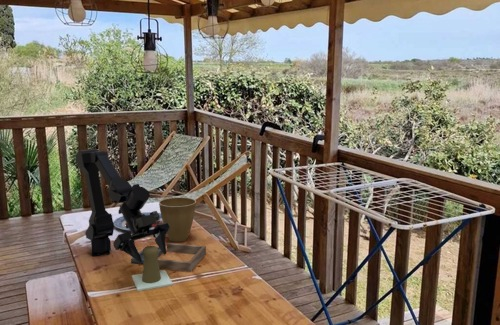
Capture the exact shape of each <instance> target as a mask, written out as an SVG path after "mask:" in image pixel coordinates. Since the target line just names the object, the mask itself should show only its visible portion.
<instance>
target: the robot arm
mask: <svg viewBox="0 0 500 325" xmlns="http://www.w3.org/2000/svg"><path fill="white" fill-rule="evenodd" d="M75 161H76V163H77V166H78V169H79V170H80V171H81V172H82V173H83V174H84V178H85V182H86V188H87V194H88V199H89V204H90V208H91V209H90V210H91V214H90V216H89V219H88V224H89V225H88V227H87V229H86V230H85V232H84V234H85V238H86V239H88V240H89V241H90V246H91V247H90V248H91V249H90V253H91V256H92V257H95V256H96V257H97V256H105V255H110V254H111V251H112V250H111V249H112V243H111V242H112V241H111V239H110V237H111V236H113V235H114V229H115V226H114V223H113V222H114V220H113V214H112V213H109V212H108V211H107V210H106V205H105V200H104V196H103V195H104V194H103V190H102V185H101V179H100V175H99V174H101V176H102V178H103V179H104V180H105V181H104V182H106V184H107V186H108V191H107V192H108V196H109V199H110V200H111V202H112V203H113V204H120V203H121V205H119V209H118V215H121V214H122V215H121V216H123V217H124V219H125V221H126V223H127V225H126V228H129V229H130V230H129V231H126V232H122V233H119V234H118V235H117V236H116V238H115V239H114V241H113V247H114V249H115V250H116V251H118V250H119V251H120V252H124V253H126V254H127V255H128V256H130V257H131V258H134V259H136V260H137V261H138V262H140V263H141V262H142V259H141V257H140V255H139V251H138V249H137V247H136V245H135V244H136V243H135V241H137V240H140V239H141V240H142V239H145V238H148V237H151V236H152V237H153V238H154V242H155V243H156V245H157V247H159V248H160V250H161V251H162V254H163V255H164V256H165V255H166V254H167V243H166V235H167V233H168V231H169V230H170V226H169V224H168V223H166V222H164V223H161V224H157V225H156V227H155V228H154V229H152V230H150V228H151V227H152V224H156V223H157V222H156V221H157V220H160V217H159V214H158V213H159V212H158V211H157V210H154V211H151V213H150V215H147V216H146V215H145V214H142V213H143V212H142V211H141V210H142V209H143V208H144V206H145V204H146V203H147V202H148V200H149V199H150V196H151V195H150V192H149V190H148V189H146V187H143V186H140V184H139V183H137V184H136V183H135V184H133V185H132V184H130V182H129V181H128V180H126V179H124V178H122V177H121V176H120V174H119V173H118V170H117V169H116V167H115V166H114V165H113V163H112V161H111V159H110V158H109V155H108V152H107V151H106V150H98V149H96V148H92V149H83V150H78V152H77V153H76V155H75Z"/></svg>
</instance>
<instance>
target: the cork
mask: <svg viewBox="0 0 500 325" xmlns="http://www.w3.org/2000/svg"><path fill="white" fill-rule="evenodd" d="M157 247H158V246H155V245H147V246H144V247H143V249H142V250H143V251H142V250H141V251H142V254H143V257H144V265H143V264H142V265H143V267H142V268H143V269H142V274H143V275H142V281H143V282H145V283H155V282H158V281H160V280H161V276H160V271H161V270H160V268H159V264H158V259H159V257H158V258H157V256H158V254H159V250H158V248H157Z"/></svg>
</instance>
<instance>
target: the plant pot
mask: <svg viewBox="0 0 500 325" xmlns="http://www.w3.org/2000/svg"><path fill="white" fill-rule="evenodd" d="M158 205H159V210H160V212H159V213H161V217H162V221H163V223H164V222H166V223H168V224H169V226H170V230H169V231H168V233H167V234H166V235H167V237H168V240H169V241H171V242H172V243H173V242H174V243H180V242H185V241H187V239H188V238H189V236H190V235H189V234H190V232H191V229H192V227H193V226H192V225H193V221H194V219H195V218H194V217H195V212H196V206H197V200H196V199H193V198H190V197H182V196H181V197H179V196H177V197H169V198H164V199H162V200H160V201H159V202H158Z"/></svg>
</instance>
